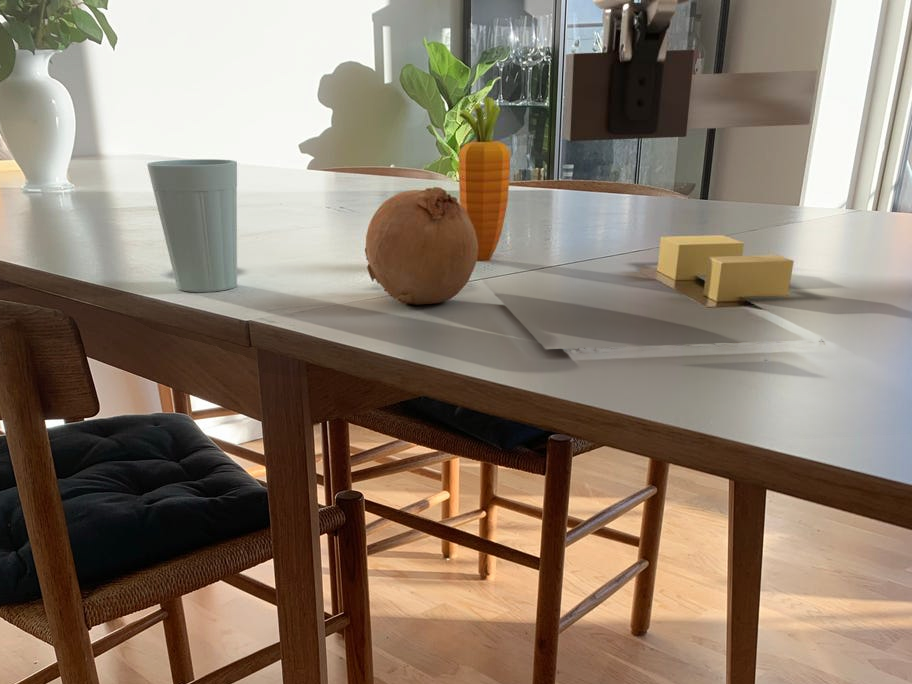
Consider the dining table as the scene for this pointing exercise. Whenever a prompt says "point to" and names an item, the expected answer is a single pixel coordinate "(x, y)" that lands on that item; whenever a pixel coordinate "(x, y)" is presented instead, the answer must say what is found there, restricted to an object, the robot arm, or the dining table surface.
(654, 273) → the butter board
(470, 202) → the carrot
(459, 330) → the dining table surface
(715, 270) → the butter slice
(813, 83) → the knife
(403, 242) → the onion
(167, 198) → the cup
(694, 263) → the butter block
